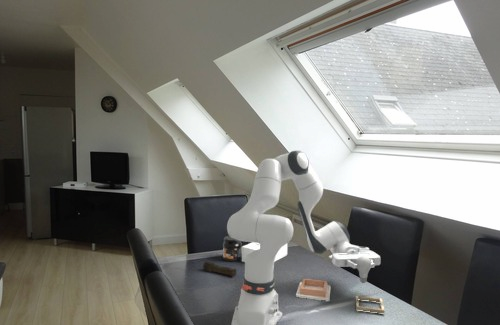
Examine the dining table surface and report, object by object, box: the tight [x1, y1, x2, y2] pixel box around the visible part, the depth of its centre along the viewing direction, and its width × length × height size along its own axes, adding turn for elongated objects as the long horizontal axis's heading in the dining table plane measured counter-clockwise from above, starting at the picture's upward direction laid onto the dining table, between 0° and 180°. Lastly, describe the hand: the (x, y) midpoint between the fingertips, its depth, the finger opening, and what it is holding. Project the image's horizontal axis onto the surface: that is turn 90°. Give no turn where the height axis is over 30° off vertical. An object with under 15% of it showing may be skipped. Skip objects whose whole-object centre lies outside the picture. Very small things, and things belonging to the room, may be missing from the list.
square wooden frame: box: [355, 295, 386, 314], centre depth 143 cm, size 10×10×2 cm
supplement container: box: [222, 235, 243, 262], centre depth 197 cm, size 10×10×12 cm
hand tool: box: [202, 260, 237, 278], centre depth 177 cm, size 19×4×5 cm, turn 59°
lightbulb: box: [356, 256, 372, 284], centre depth 143 cm, size 6×6×11 cm
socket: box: [295, 278, 332, 302], centre depth 156 cm, size 14×14×4 cm
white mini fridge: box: [241, 242, 288, 263], centre depth 199 cm, size 14×25×11 cm, turn 144°
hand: (364, 266), depth 142 cm, fingers closed on lightbulb, 6 cm apart
